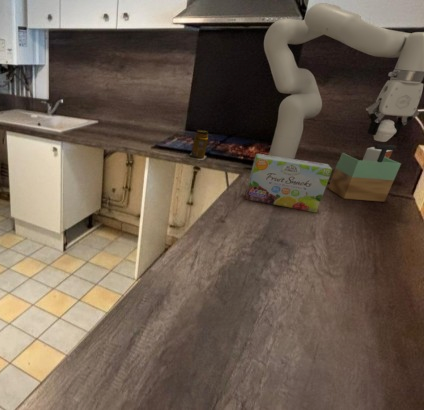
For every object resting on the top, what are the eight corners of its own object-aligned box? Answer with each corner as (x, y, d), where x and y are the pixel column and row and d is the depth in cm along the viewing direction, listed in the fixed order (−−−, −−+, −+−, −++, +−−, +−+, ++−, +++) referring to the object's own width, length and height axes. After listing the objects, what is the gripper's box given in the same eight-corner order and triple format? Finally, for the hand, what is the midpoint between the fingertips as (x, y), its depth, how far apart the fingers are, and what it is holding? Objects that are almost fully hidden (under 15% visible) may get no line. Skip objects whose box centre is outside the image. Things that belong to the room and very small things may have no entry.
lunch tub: (335, 168, 132) (346, 136, 127) (374, 171, 131) (387, 139, 127) (352, 177, 122) (366, 144, 118) (395, 180, 122) (410, 147, 117)
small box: (372, 183, 144) (385, 152, 138) (354, 178, 148) (366, 148, 143) (380, 180, 148) (393, 149, 142) (363, 175, 152) (374, 146, 147)
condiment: (206, 156, 166) (211, 131, 162) (202, 160, 160) (208, 134, 155) (190, 153, 170) (195, 128, 165) (186, 157, 163) (191, 131, 158)
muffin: (367, 137, 121) (375, 116, 118) (389, 140, 119) (398, 119, 116) (370, 140, 116) (379, 119, 113) (393, 144, 114) (403, 122, 111)
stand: (328, 188, 135) (335, 168, 132) (366, 191, 135) (374, 171, 131) (343, 198, 126) (351, 177, 123) (384, 201, 126) (393, 180, 122)
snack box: (245, 200, 120) (256, 156, 113) (244, 194, 124) (255, 152, 118) (317, 213, 113) (333, 167, 107) (313, 206, 118) (329, 163, 111)
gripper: (385, 76, 106) (361, 135, 114) (446, 80, 105) (418, 140, 113) (369, 73, 113) (348, 130, 121) (427, 78, 112) (401, 134, 120)
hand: (382, 134), depth 117 cm, fingers closed on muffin, 6 cm apart
